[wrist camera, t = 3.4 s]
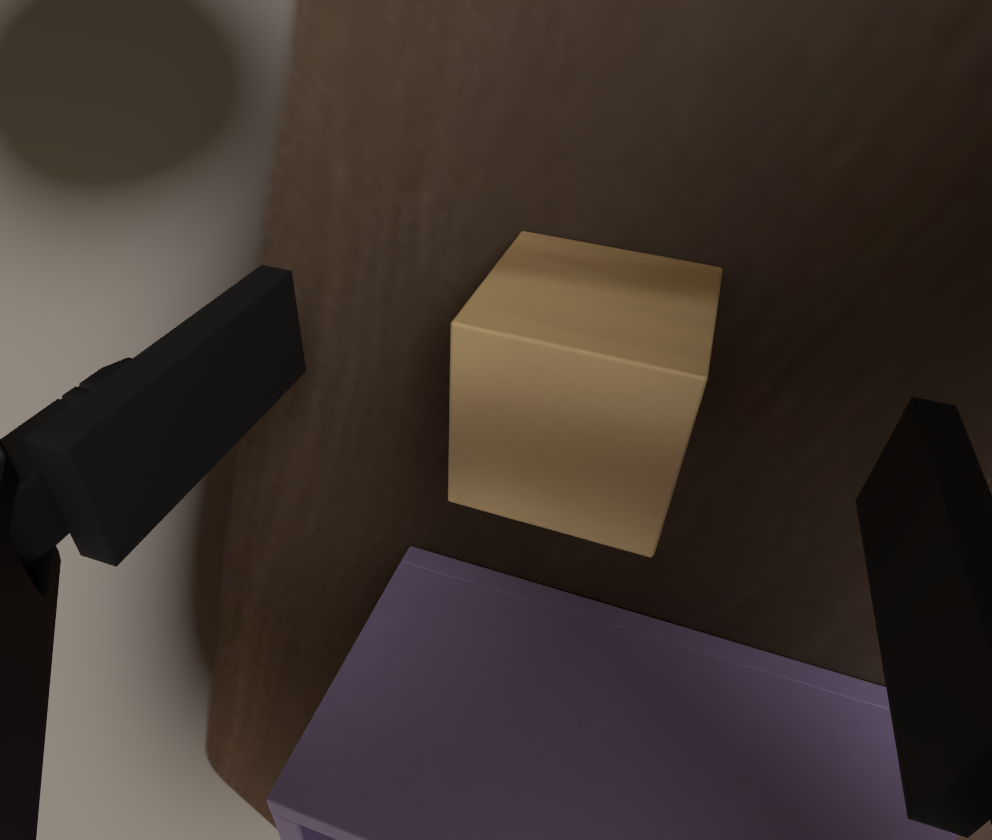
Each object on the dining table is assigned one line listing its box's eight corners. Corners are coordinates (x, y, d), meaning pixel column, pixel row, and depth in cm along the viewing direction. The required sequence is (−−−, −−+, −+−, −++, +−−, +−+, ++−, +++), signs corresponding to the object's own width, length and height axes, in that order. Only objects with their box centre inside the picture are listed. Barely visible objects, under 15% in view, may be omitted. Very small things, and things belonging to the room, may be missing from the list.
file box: (416, 726, 31) (319, 949, 25) (409, 544, 23) (264, 799, 17) (790, 860, 28) (795, 1162, 21) (930, 698, 20) (1008, 1098, 13)
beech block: (521, 229, 15) (448, 322, 12) (723, 266, 14) (708, 378, 11) (507, 389, 18) (446, 502, 15) (676, 430, 17) (652, 560, 14)
